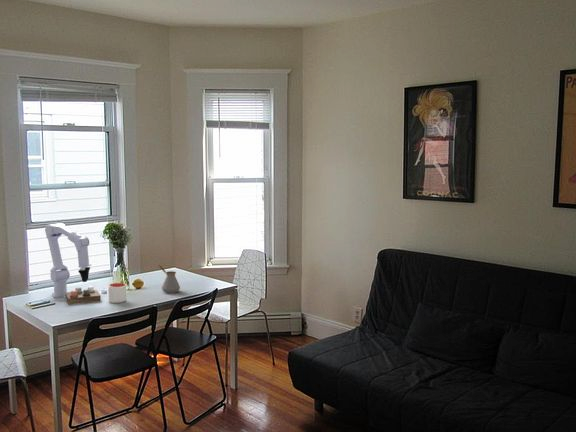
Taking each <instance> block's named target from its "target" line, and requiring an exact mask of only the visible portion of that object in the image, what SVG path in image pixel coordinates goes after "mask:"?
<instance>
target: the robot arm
mask: <svg viewBox="0 0 576 432" xmlns="http://www.w3.org/2000/svg"><path fill="white" fill-rule="evenodd" d="M44 230H45V231H44V233H45V235H46V239H47V241H48V246H49V250H50V254H51V260H52V264H53V266H52V268H51V269H50V270H49V271H50V272H49V273H50V275H49V276H50V279H51V281H52V282H53V292H52V295H53V297H54V298H61V297H62V298H63V297H65V293H66V292H68V289H67V287H68V286H67V283H68V282H67V281H68V280H69V279H70V275H71V274H70V271H69V269H68V266H66V265H65V264H63V259H62V254H61V249H60V245H59V240H58V239H59V238H60V237H62V235H63V236H66V237H67V239H68V240H69V242H72V243H73V244H74V246H75V249H76V252H77V260H78V268H80V269H79V270H78V271H77V272H78V273H79V275H80V278H81V281H82V283H86V282H87V281H88V280H89V275H90V274H89V273H90V270H91V266H92V264H90V259H89V250H88V249H89V248H88V247H89V245H90V239H89V238H88V237H87V236H82V235H81V234H79V233H78V232H77V231H72V230H70V229H68V228H67V227H66V224H64V223H62V222H60V223H51V224H47V225H46V226H45V228H44Z"/></svg>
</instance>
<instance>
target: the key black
mask: <svg viewBox="0 0 576 432" xmlns="http://www.w3.org/2000/svg"><path fill="white" fill-rule="evenodd" d="M82 291H83V297H84V296H90V294H89V290H88V288H85V289H82Z"/></svg>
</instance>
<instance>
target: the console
mask: <svg viewBox="0 0 576 432" xmlns="http://www.w3.org/2000/svg"><path fill="white" fill-rule="evenodd" d="M89 294H90V296H84V297H83V290H82V294H77V297H73V298H71V291H67V292H66V293H65V296H64V297H65V300H66V303H67V304H68V305H77V304H89V303H94V302H95V303H97V302H98V303H99V302H102V301H101V298H102V297H101V293H100V292H99V290H97V289H94V293H89Z"/></svg>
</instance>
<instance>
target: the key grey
mask: <svg viewBox="0 0 576 432" xmlns="http://www.w3.org/2000/svg"><path fill="white" fill-rule="evenodd" d="M74 291H77V294H82V291H83V289H82V287H81V286H78V287H75V289H74Z"/></svg>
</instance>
